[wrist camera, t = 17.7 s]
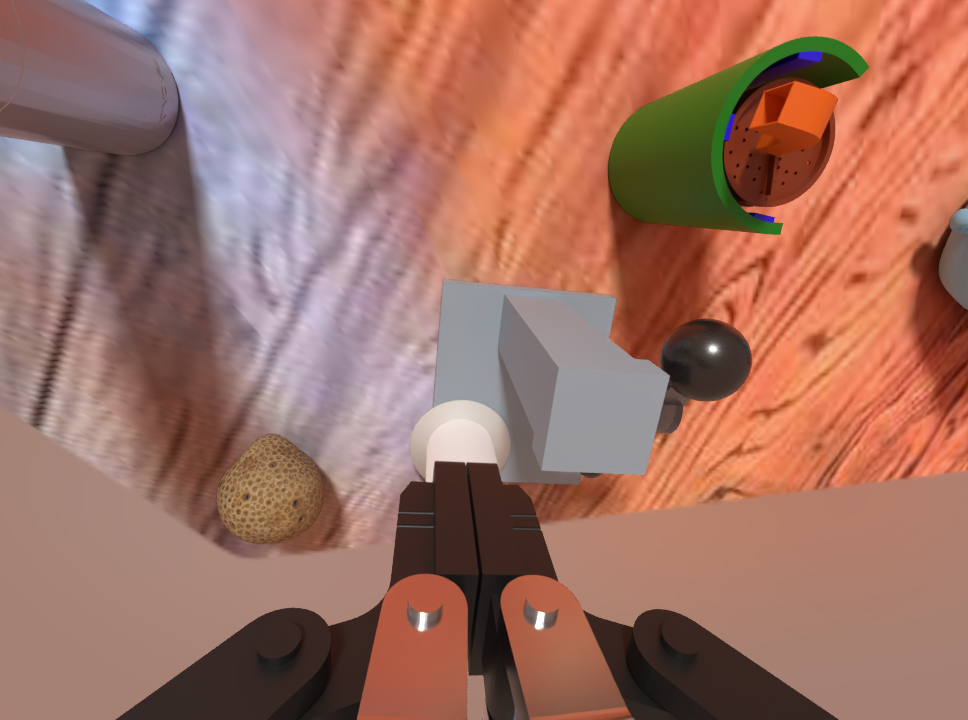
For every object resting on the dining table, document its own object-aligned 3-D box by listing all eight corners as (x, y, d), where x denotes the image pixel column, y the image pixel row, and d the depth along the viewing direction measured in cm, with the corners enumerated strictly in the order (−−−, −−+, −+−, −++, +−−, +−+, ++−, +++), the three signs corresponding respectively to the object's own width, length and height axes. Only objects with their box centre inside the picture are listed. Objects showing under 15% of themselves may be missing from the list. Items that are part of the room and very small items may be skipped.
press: (408, 475, 48) (385, 687, 27) (421, 276, 42) (404, 352, 21) (572, 482, 51) (669, 682, 29) (609, 294, 44) (768, 379, 23)
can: (421, 423, 44) (416, 499, 33) (487, 412, 44) (505, 483, 33) (433, 480, 46) (432, 570, 35) (496, 469, 46) (515, 554, 35)
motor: (689, 227, 43) (890, 246, 24) (598, 217, 42) (732, 229, 23) (718, 105, 39) (975, 16, 21) (620, 91, 38) (797, -17, 20)
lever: (559, 441, 42) (563, 490, 40) (677, 298, 24) (698, 374, 22) (605, 443, 43) (612, 491, 41) (756, 305, 24) (784, 380, 22)
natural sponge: (289, 514, 48) (253, 589, 39) (223, 459, 46) (167, 525, 36) (353, 465, 47) (332, 530, 38) (289, 405, 44) (250, 459, 35)
